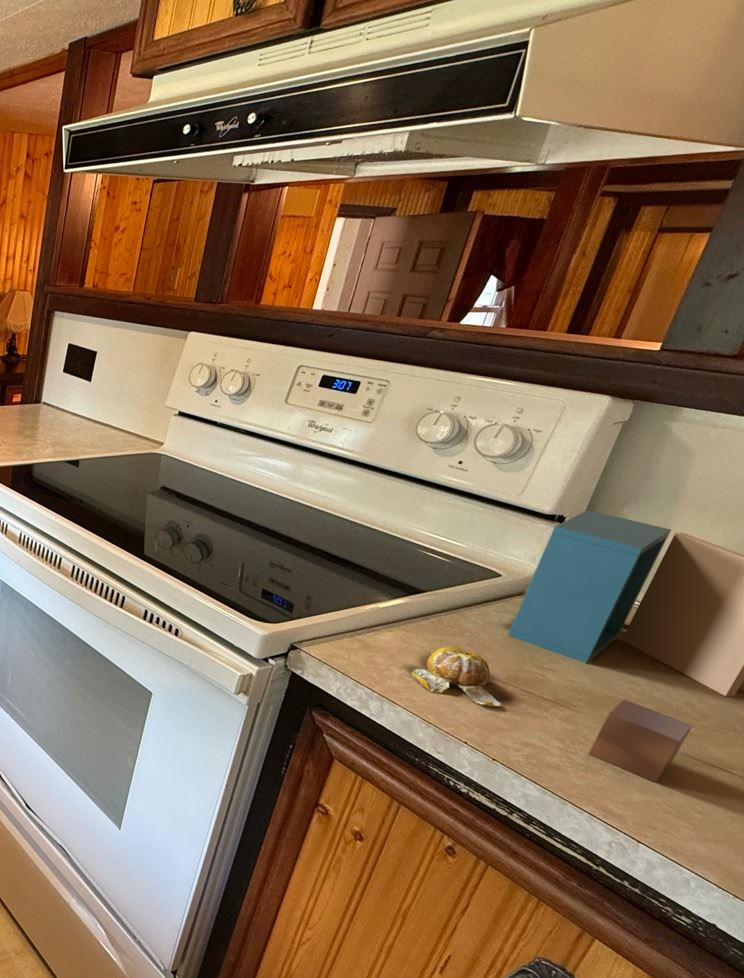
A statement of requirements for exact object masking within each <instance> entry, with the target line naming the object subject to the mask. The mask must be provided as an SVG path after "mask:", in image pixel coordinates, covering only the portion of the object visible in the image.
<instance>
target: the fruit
mask: <svg viewBox="0 0 744 978" xmlns="http://www.w3.org/2000/svg"><path fill="white" fill-rule="evenodd" d="M426 667H427V668H426V669H422V668H415V669H414V670H413V671H412V672H411V675H412V677H413V678H414V679H416V680H417V681H418V682H419V684H420V685H421V686H422V687H423V688H426V689H427V691H430V692H431V693H435V694H437V693H438V694H439V693H440V694H442V693H443V692H444V691H445V690H447V689H449V688H450V684H453V685H456V686H458V687H459V688H460V689H462V691H463V692H464V693H465V694H466V695H467V697H468V698H469V699H471V700H472V702H474V703H475V704H479V705H483V706H487V707H502V706H503V704H502V703H501V702H500V701H498V699H496V698H495V697H494V696H493V694H491V693H489V692H488V690H486V689H485V688H484V686H485V685H487V683H488V682H489V681H490V667H489V665H488V662H487V661H486V660H485V659H484V658H483V657H482V656H481V655H479V654H478V653H475V652H473V651H472V652H471V651H469V650H465V649H463V648H459V647H454V646H446V647H445V646H444V647H440V648H438V649H437V650H435V651H434V652H432V653H431V655H430V656H429V657H428V658H427V660H426Z"/></svg>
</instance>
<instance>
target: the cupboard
mask: <svg viewBox="0 0 744 978" xmlns="http://www.w3.org/2000/svg"><path fill="white" fill-rule="evenodd" d="M671 532H672V529H671V528H666V527H662V526H658V525H654V524H649V523H645V522H640V521H637V520H632V519H628V518H624V517H619V516H616V515H615V516H614V515H611V514H606V513H603V512H597V511H593V510H589V509H588V510H586V511H583V512H581V513H579V514H576V515H575V516H573V517H571V518H569V519H567V520H565V521H563V522H561V523H558V524H556V525H555V526H554V528H553V530H552V532H551V534H550V537H549V539H548V541H547V543H546V546H545V548H544V550H543V552H542V555H541V557H540V558H539V559H540V560H539V561H538V565H536V566H537V567H536V569H535V570H534V573H533V576H532V578H531V580H530V582H529V585H528V586H527V589H526V591H525V594H524V596H523V599H522V601H521V603H520V606H519V609H518V610H517V613H516V614H515V617H514V619H513V621H512V624H511V627H510V629H509V631H508V633H507V636H508V637H509V638H514V639H516V640H519V641H522V642H525V643H526V644H527V643H528V644H530V645H533V646H536V647H538V648H541V649H544V650H547V651H549V652H553V653H555V654H558V655H561V656H563V657H567V658H569V659H572V660H574V661H578V662H580V663H584V664H588V663H589V662H590V661H591V660H592V659H594V658H595V657H596V656H598V655H599V654H600V653H601V652H602V651H603V650H605V649H607V647H608V646H610V645H611V644H612V643H614V642H615V641H616V640H617V639H618V638H619V636H620V633H621V631H622V629H623V627H624V625H625V624H626V621H627V620H628V617H629V616H630V614H631V611H632V610H633V607H634V605H635V603H636V601H637V599H638V597H639V595H640V594H641V591H642V590H643V587H644V585H645V583H646V581H647V579H648V578H649V575H650V573H651V571H652V569H653V567H654V565H655V564H656V561H657V559H658V557H659V555H660V554H661V552H662V549H663V547H664V545H665V544H666V542H667V539H668V538H669V536H670V533H671Z"/></svg>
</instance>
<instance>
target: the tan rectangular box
mask: <svg viewBox="0 0 744 978" xmlns="http://www.w3.org/2000/svg"><path fill="white" fill-rule="evenodd" d="M621 641H622V642H624V643H626V644H628V645H629V646H631V647H633V648H635V649H637V650H639V651H641V652H643V653H644V654H646V655H648V656H650V657H652V658H653V659H656V660H657V661H659V662H661V663H663V664H665V665H667V666H669V668H670V667H671V668H672V669H673V670H674V669H675V670H676V671H678V672H680V673H681V674H683V675H685V676H687V677H689V678H690V679H692V680H695V681H696V682H698V683H700V684H702V685H704V686H706V687H707V688H709V689H711V690H713V691H715V692H716V693H718V694H720V695H722V696H724V697H730V698H731V697H732V698H734V697H735V696H736V694H737V693H738V690H739V689H740V687H741V685H742V683H743V682H744V554H742V553H739V552H737V551H734V550H731V549H728V548H726V547H723V546H720V545H718V544H715V543H712V542H709V541H706V540H703V539H702V538H698V537H695V536H693V535H691V534H689V533H688V534H687V533H685V532H675V533H674V535H673V537H672V539H671V540H670V543H669V545H668V546H667V549H666V551H665V553H664V555H663V556H662V559H661V560H660V563H659V565H658V566H657V568H656V571H655V572H654V574H653V576H652V578H651V580H650V582H649V585H648V586H647V588H646V590H645V592H644V594H643V596H642V598H641V601H640V602H639V605H638V606H637V608H636V610H635V612H634V614H633V616H632V618H631V620H630V622H629V624H628V626H627V629H626V630H625V632H624V634H623V636H622V638H621Z"/></svg>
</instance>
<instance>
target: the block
mask: <svg viewBox="0 0 744 978" xmlns="http://www.w3.org/2000/svg"><path fill="white" fill-rule="evenodd" d="M692 728H693V724H691V723H688V722H685V721H682V720H680V719H677V718H674V717H672V716H669V715H667V714H664V713H661V712H659V711H656V710H653V709H651V708H648V707H646V706H643V705H640V704H638V703H635V702H631V701H629V700H626V699H622V700H621V701H620V702H619V703H618V704H617V705H616V706H615V707H614V708H613V709H612V710H611V711H610V712H609V713H608V714H607V717H605V721H604V722H603V724H602V726H601V728H600V730H599V732H598V734H597V736H596V737H595V740H594V741H593V743H592V746H590V749H589V751H588V755H590V756H593V757H595V758H597V759H599V760H602V761H605V762H606V763H609V764H611V765H612V766H613V765H614V766H616V767H618V768H619V769H623V770H625V771H627V772H630V773H632V774H635V775H637V776H640V777H642V778H644V779H646V780H648V781H650V782H653V783H656V784H657V783H658V781H660V779H661V778H662V777H663V775H664V774H665V772H666V771H667V770H668V769H669V768H670V766H671V764H672V762H674V759H675V757H676V756H677V754H678V752H679V751H680V749H681V747H682V746H683V744H684V742H685V740H686V738H687V736H688V735H689V733H690V731H691V729H692Z"/></svg>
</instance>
